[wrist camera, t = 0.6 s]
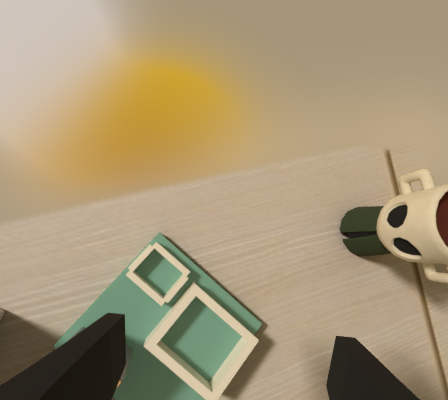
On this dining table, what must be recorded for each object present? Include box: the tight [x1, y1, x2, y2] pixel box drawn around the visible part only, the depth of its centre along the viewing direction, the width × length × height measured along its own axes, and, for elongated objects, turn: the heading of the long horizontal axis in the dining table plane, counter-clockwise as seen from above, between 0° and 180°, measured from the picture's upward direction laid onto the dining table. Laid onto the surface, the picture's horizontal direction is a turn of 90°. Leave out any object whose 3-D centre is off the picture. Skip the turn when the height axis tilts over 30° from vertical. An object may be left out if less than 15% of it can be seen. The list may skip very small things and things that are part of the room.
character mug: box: [340, 169, 448, 283], centre depth 28 cm, size 11×7×13 cm, turn 11°
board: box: [53, 233, 262, 400], centre depth 26 cm, size 14×15×3 cm
